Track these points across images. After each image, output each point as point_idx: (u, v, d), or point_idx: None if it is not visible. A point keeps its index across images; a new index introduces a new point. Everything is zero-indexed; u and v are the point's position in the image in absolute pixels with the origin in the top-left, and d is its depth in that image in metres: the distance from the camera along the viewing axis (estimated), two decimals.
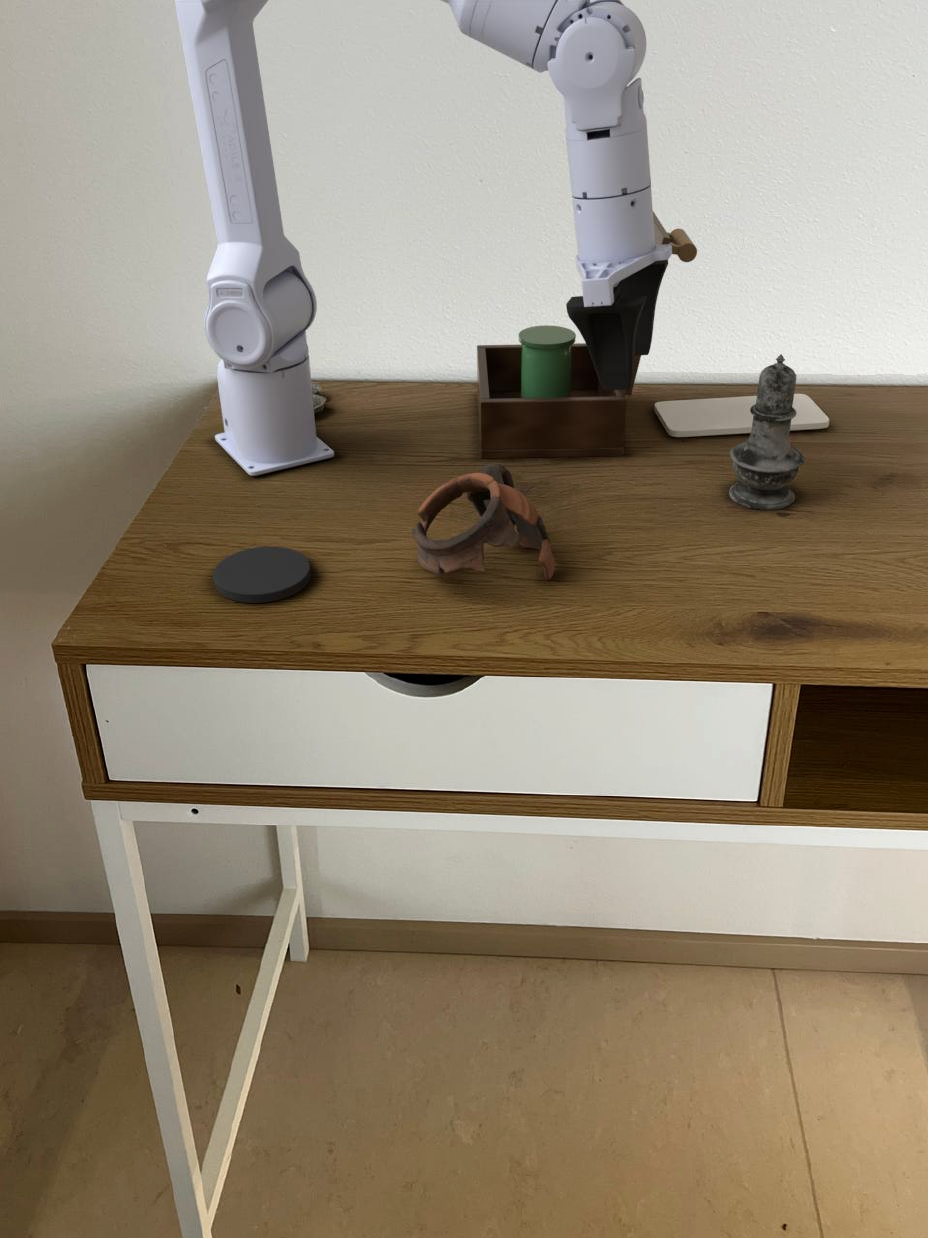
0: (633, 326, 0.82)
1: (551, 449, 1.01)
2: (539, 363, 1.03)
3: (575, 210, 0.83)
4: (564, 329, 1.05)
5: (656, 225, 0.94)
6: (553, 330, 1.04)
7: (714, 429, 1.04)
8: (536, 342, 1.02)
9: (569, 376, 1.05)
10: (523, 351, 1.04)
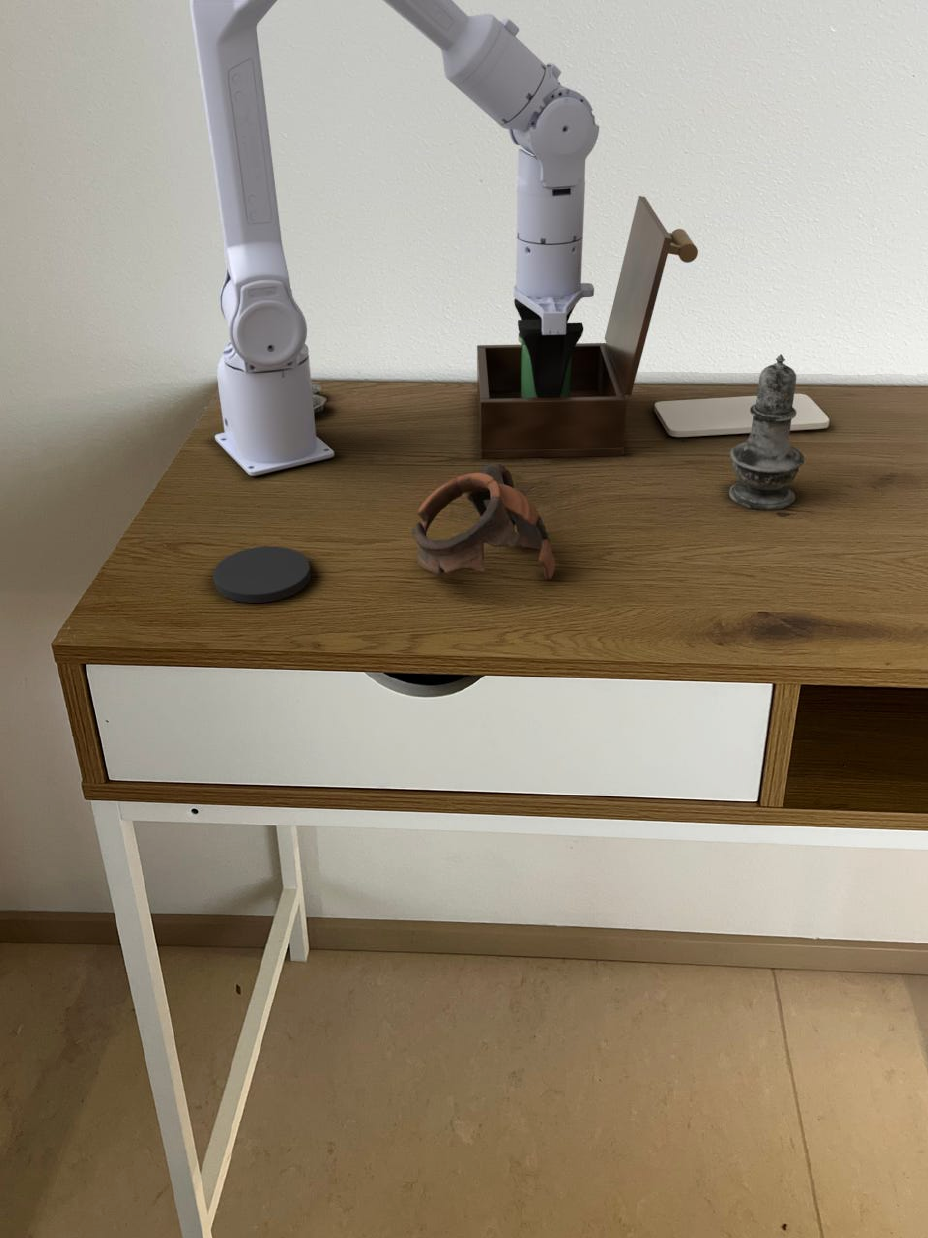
0: (573, 347, 1.00)
1: (551, 449, 1.01)
2: None
3: (523, 251, 0.98)
4: None
5: (657, 225, 0.94)
6: None
7: (714, 429, 1.04)
8: None
9: (569, 376, 1.05)
10: (523, 351, 1.04)
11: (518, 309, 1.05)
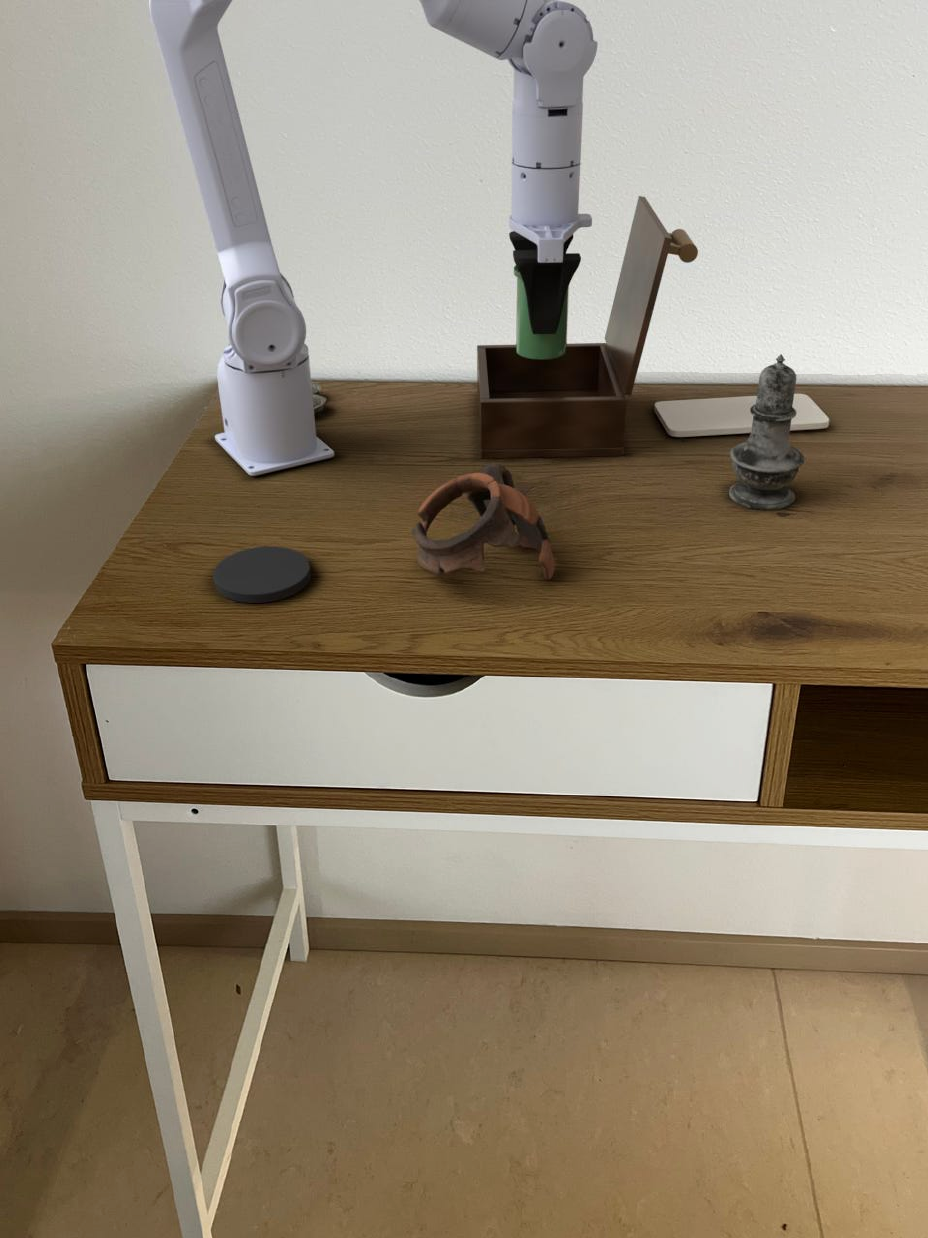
0: (570, 278, 0.96)
1: (551, 449, 1.01)
2: None
3: (518, 177, 0.94)
4: None
5: (657, 225, 0.94)
6: None
7: (714, 429, 1.04)
8: None
9: (566, 312, 1.01)
10: (518, 285, 1.00)
11: (513, 242, 1.01)
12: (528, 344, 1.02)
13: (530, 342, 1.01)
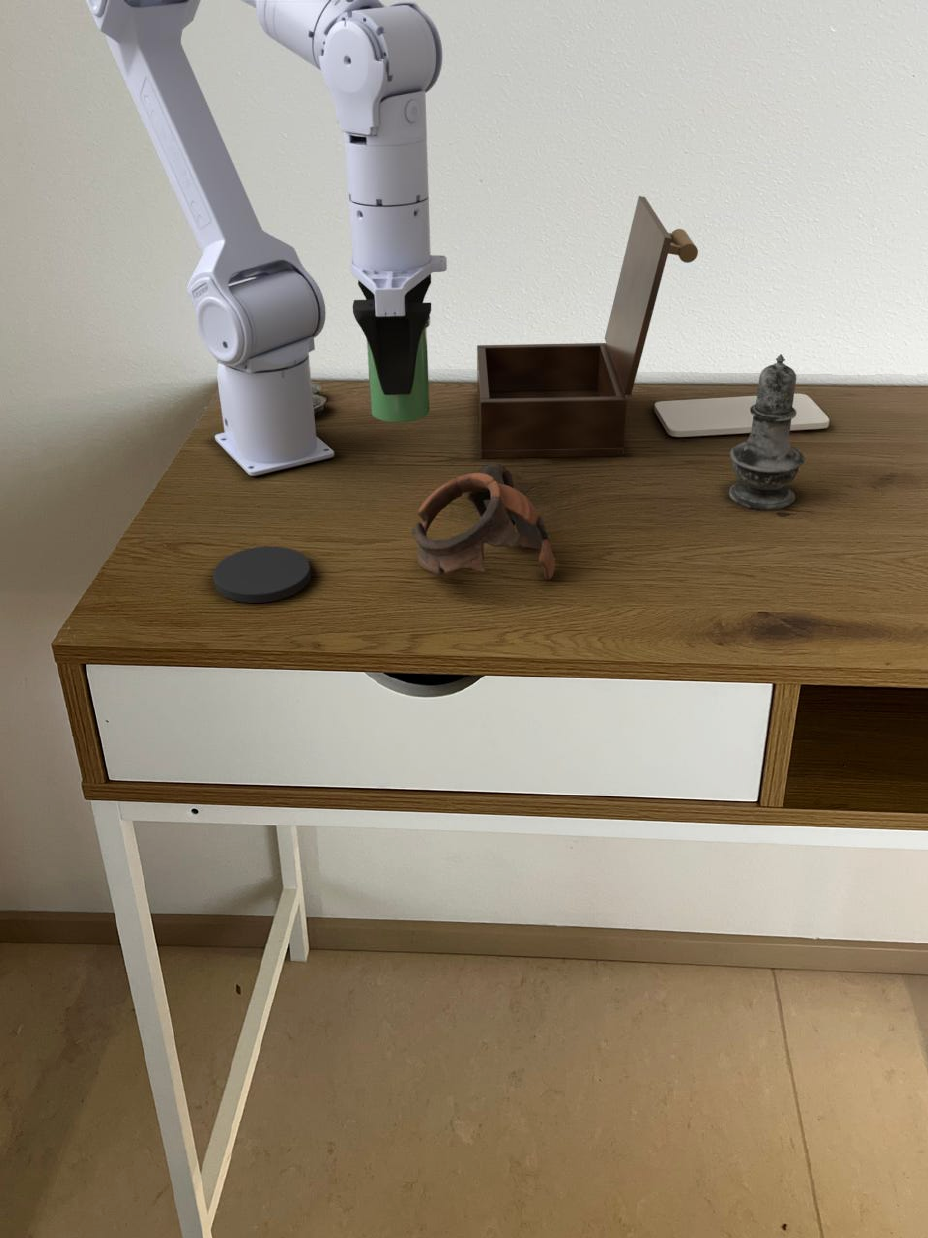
0: (420, 332, 0.82)
1: (551, 449, 1.01)
2: None
3: (354, 216, 0.80)
4: None
5: (657, 225, 0.94)
6: None
7: (714, 429, 1.04)
8: None
9: (424, 368, 0.87)
10: None
11: (362, 288, 0.87)
12: (381, 405, 0.88)
13: (384, 403, 0.88)
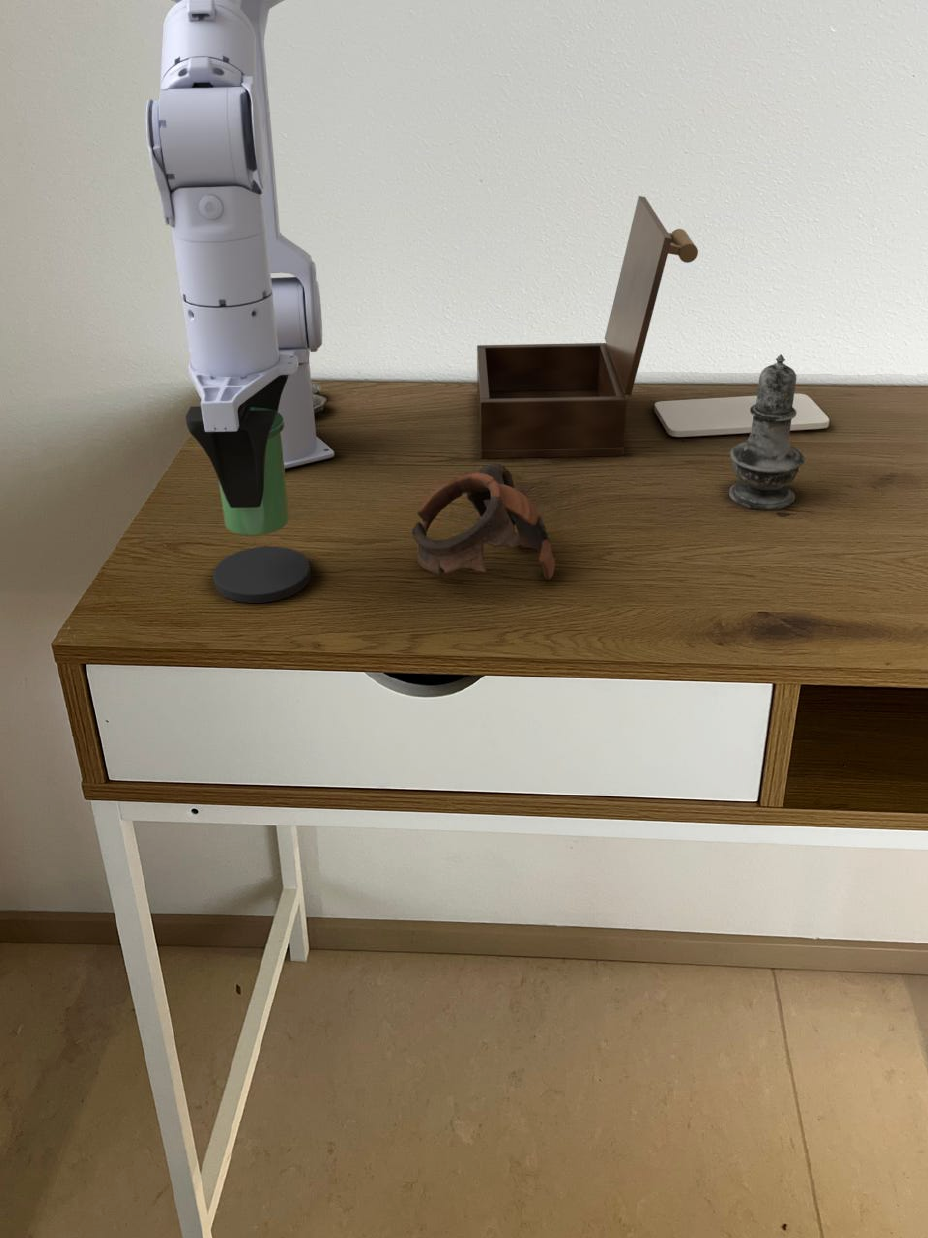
0: (263, 444, 0.73)
1: (551, 449, 1.01)
2: None
3: (186, 315, 0.72)
4: None
5: (657, 225, 0.94)
6: None
7: (714, 429, 1.04)
8: None
9: (279, 476, 0.78)
10: None
11: None
12: (232, 517, 0.79)
13: (234, 514, 0.79)
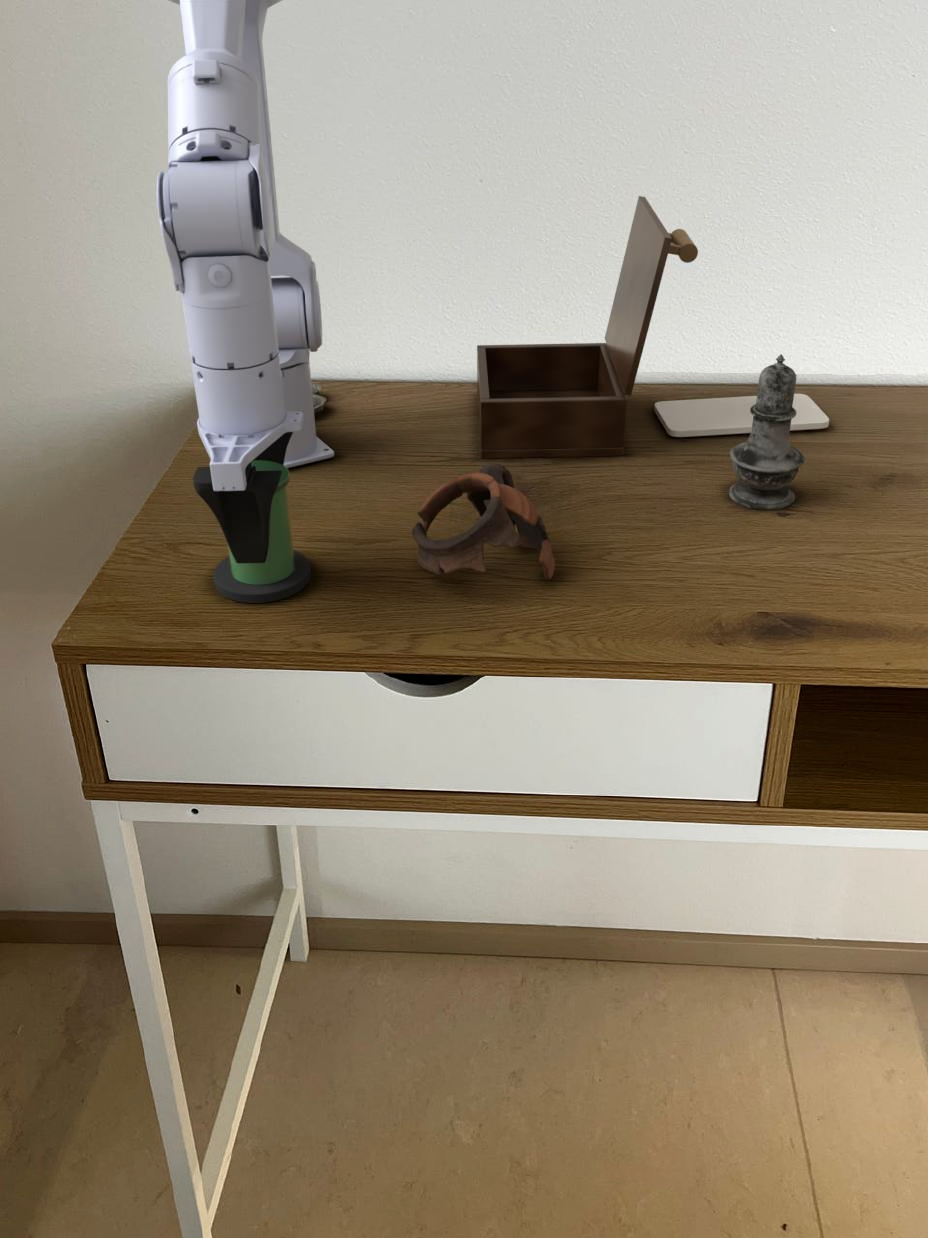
0: (269, 504, 0.75)
1: (551, 449, 1.01)
2: None
3: (195, 376, 0.74)
4: (278, 467, 0.80)
5: (657, 225, 0.94)
6: (263, 469, 0.80)
7: (714, 429, 1.04)
8: None
9: (285, 528, 0.81)
10: None
11: None
12: (239, 567, 0.81)
13: (241, 565, 0.81)
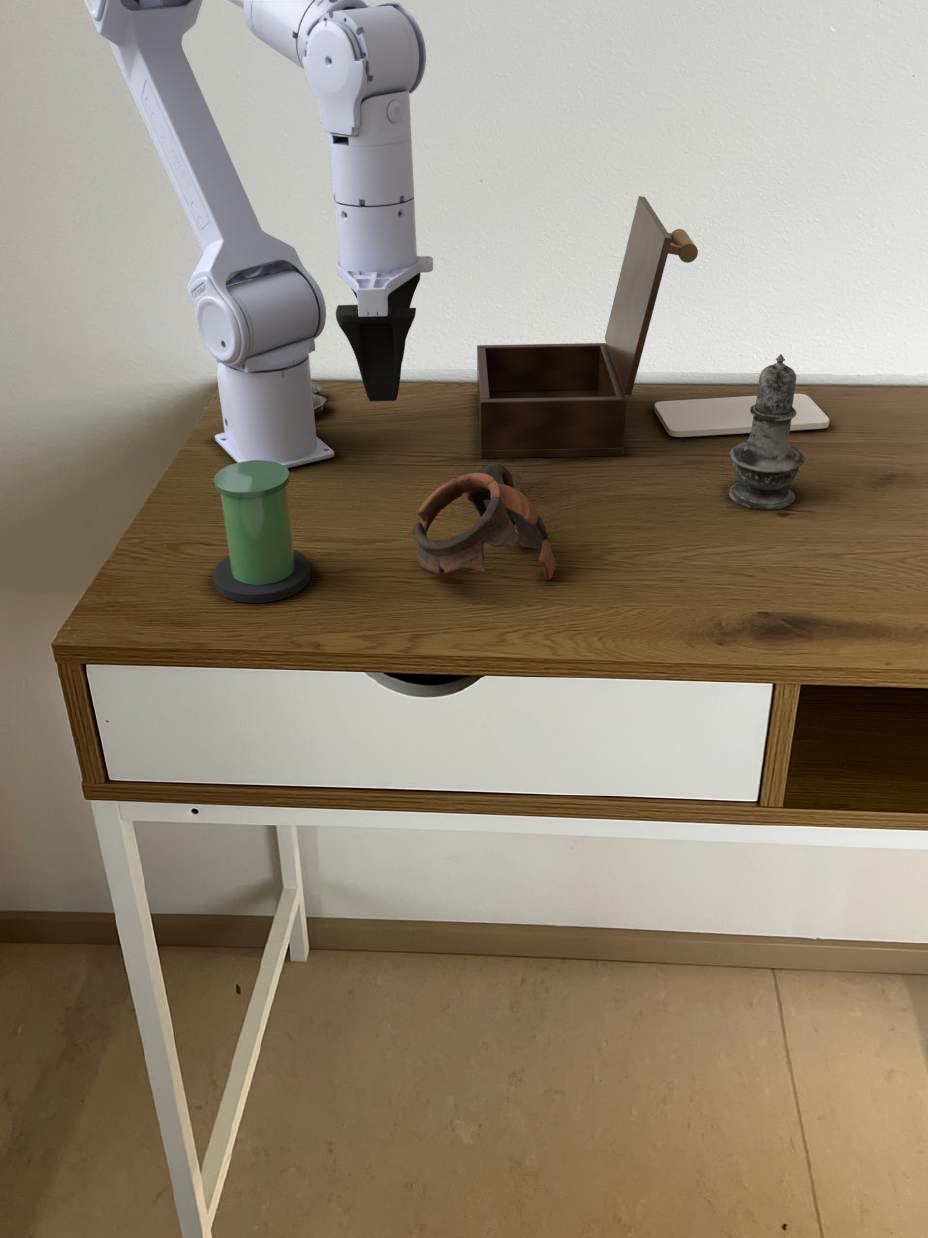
0: (405, 337, 0.81)
1: (551, 449, 1.01)
2: (238, 514, 0.79)
3: (339, 216, 0.80)
4: (278, 467, 0.80)
5: (657, 225, 0.94)
6: (263, 469, 0.80)
7: (714, 429, 1.04)
8: (231, 489, 0.78)
9: (285, 528, 0.81)
10: (221, 497, 0.79)
11: None
12: (239, 567, 0.81)
13: (241, 565, 0.81)
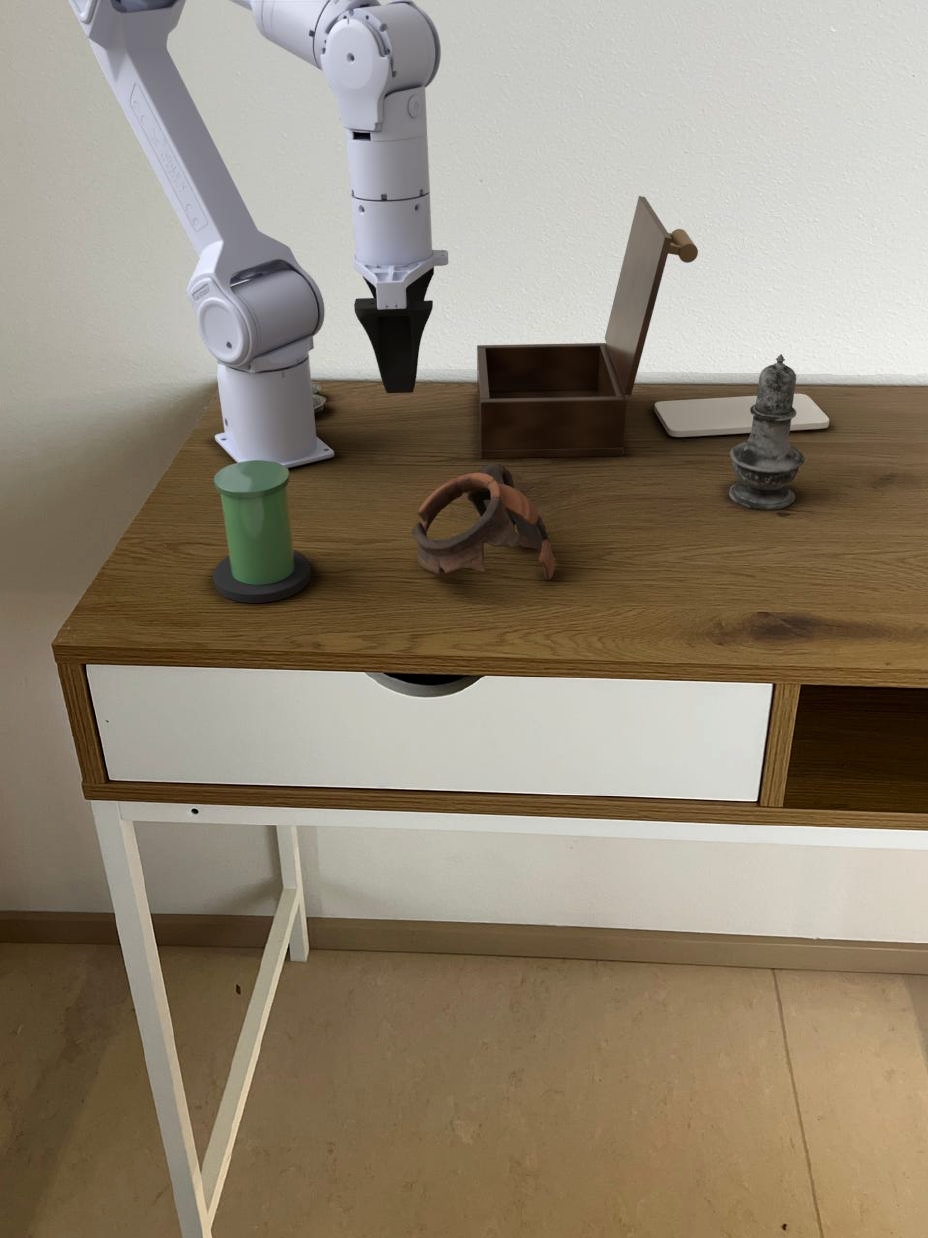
0: (422, 330, 0.82)
1: (551, 449, 1.01)
2: (238, 514, 0.79)
3: (357, 211, 0.82)
4: (278, 467, 0.80)
5: (657, 225, 0.94)
6: (263, 469, 0.80)
7: (714, 429, 1.04)
8: (231, 489, 0.78)
9: (285, 528, 0.81)
10: (221, 497, 0.79)
11: (366, 280, 0.89)
12: (239, 567, 0.81)
13: (241, 565, 0.81)
